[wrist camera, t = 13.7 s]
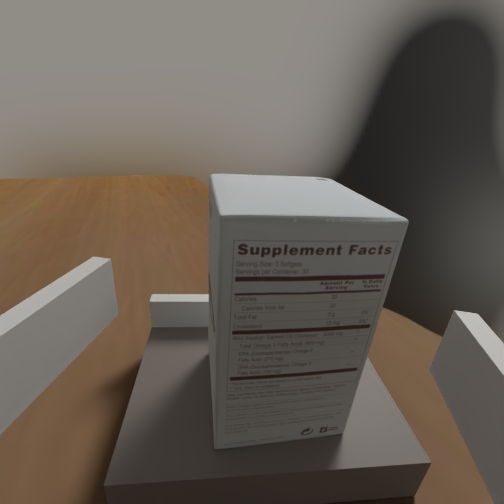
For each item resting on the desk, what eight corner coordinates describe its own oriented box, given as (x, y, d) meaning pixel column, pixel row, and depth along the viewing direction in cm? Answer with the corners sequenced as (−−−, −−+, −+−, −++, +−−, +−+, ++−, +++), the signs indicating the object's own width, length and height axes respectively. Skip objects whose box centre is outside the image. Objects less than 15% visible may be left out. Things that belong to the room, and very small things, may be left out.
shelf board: (335, 341, 28) (346, 292, 26) (414, 496, 17) (447, 431, 14) (157, 344, 26) (153, 291, 24) (111, 521, 15) (95, 452, 12)
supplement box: (206, 350, 22) (207, 170, 16) (305, 344, 23) (335, 176, 18) (209, 456, 15) (213, 211, 10) (348, 439, 16) (418, 215, 11)
